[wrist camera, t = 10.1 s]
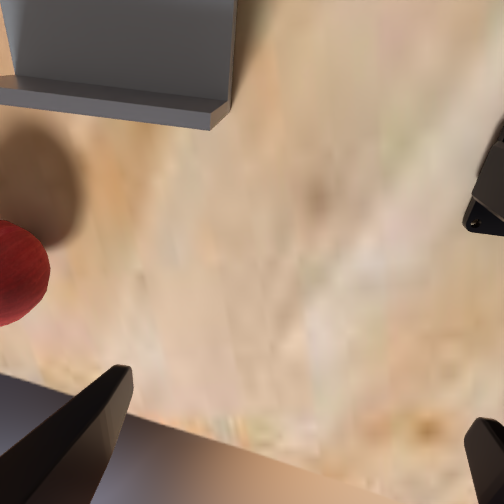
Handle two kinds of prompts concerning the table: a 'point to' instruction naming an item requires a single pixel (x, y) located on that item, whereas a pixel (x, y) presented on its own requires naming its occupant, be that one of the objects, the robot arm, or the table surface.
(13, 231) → the onion
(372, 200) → the table surface
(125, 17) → the rack
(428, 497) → the table surface
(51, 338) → the table surface
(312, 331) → the table surface
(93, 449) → the robot arm
